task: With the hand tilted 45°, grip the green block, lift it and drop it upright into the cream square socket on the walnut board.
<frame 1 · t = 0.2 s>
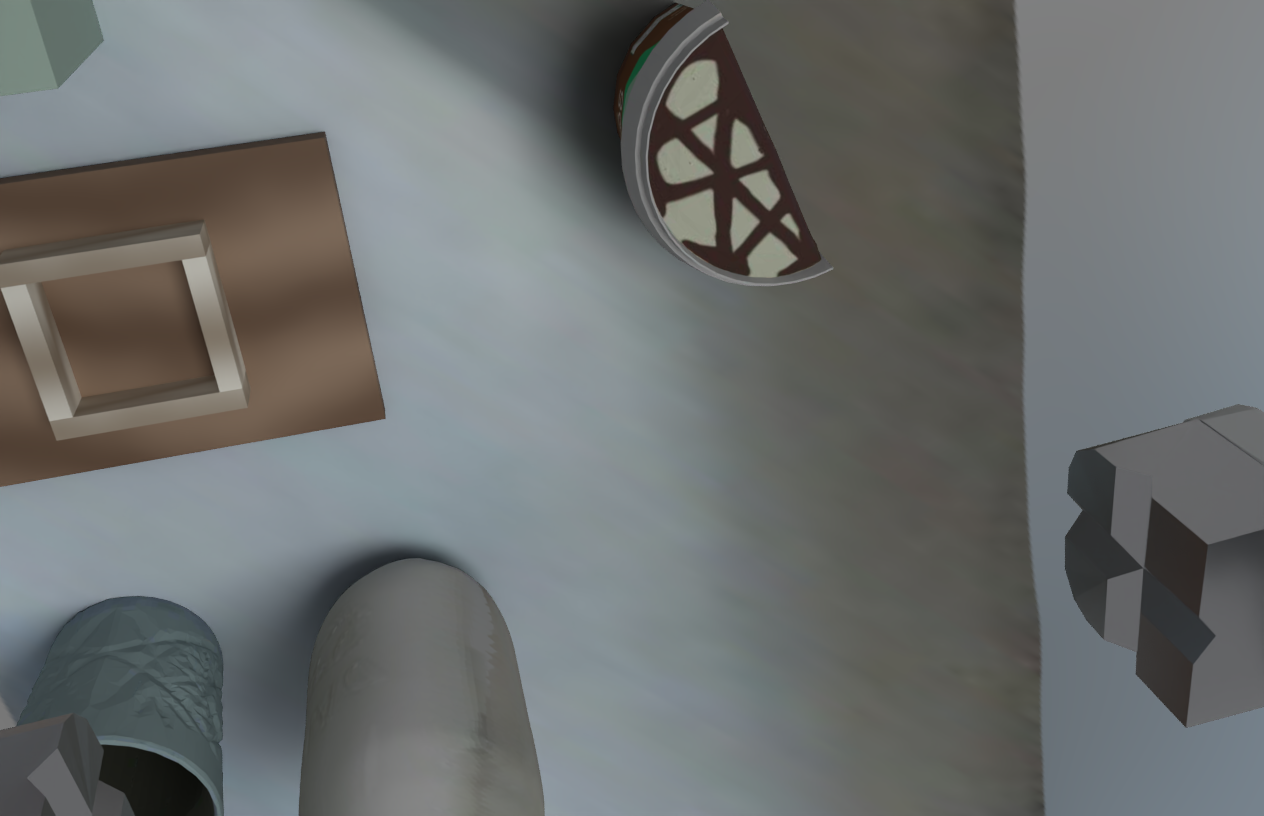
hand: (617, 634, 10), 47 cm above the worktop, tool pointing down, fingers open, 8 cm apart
green cup: (142, 656, 64), on the worktop
glass bottle: (408, 604, 66), on the worktop
food container: (657, 126, 57), on the worktop
walnut board: (136, 314, 55), on the worktop
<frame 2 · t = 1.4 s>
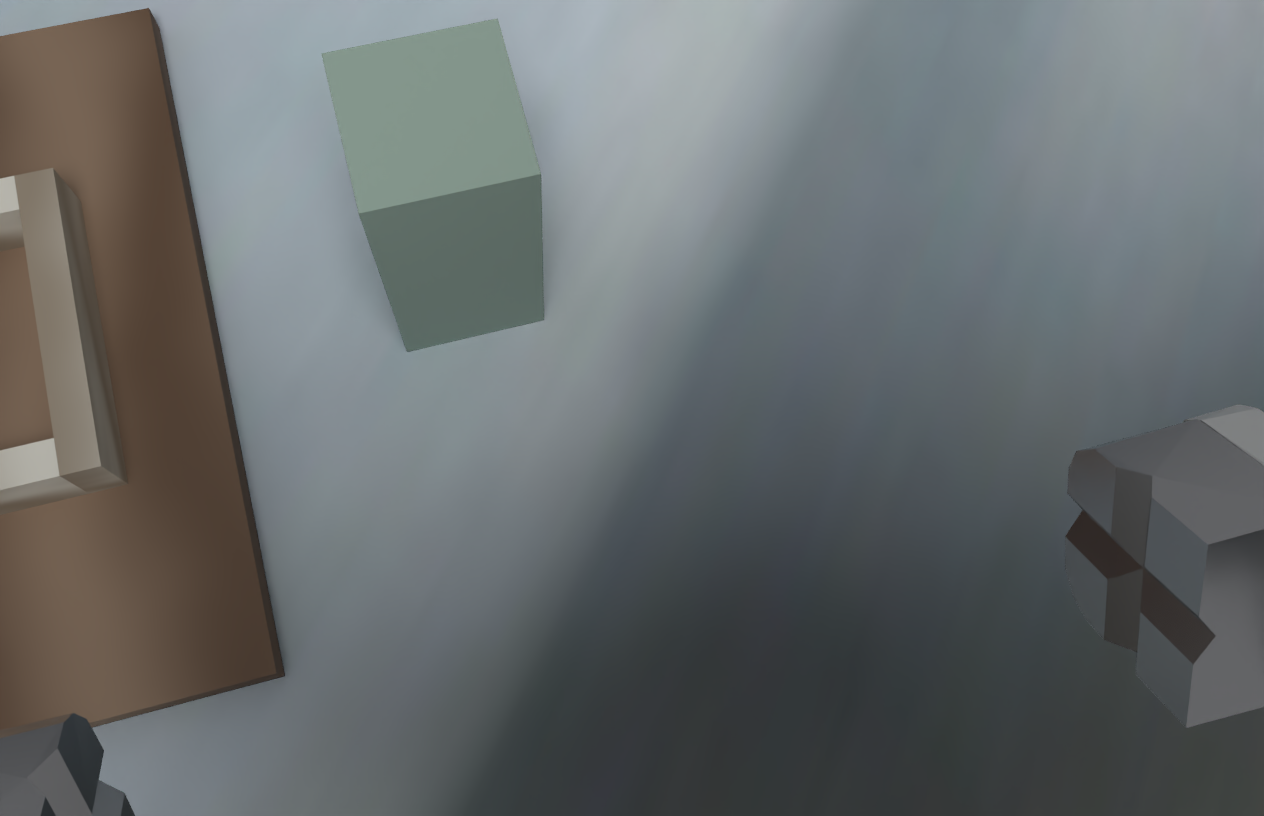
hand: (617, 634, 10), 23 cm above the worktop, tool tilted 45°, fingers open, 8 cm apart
green block: (460, 273, 35), on the worktop
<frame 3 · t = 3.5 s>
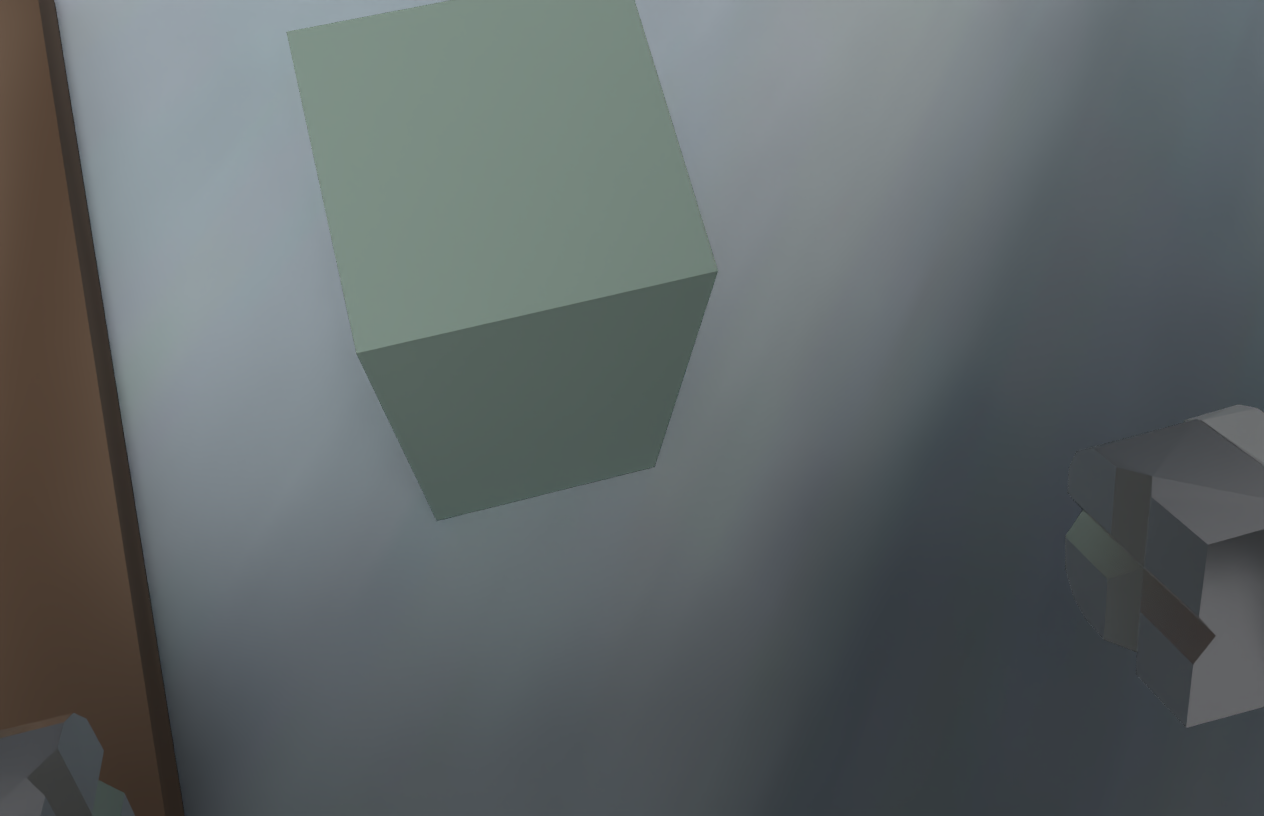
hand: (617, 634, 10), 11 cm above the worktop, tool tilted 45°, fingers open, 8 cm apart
green block: (520, 389, 22), on the worktop
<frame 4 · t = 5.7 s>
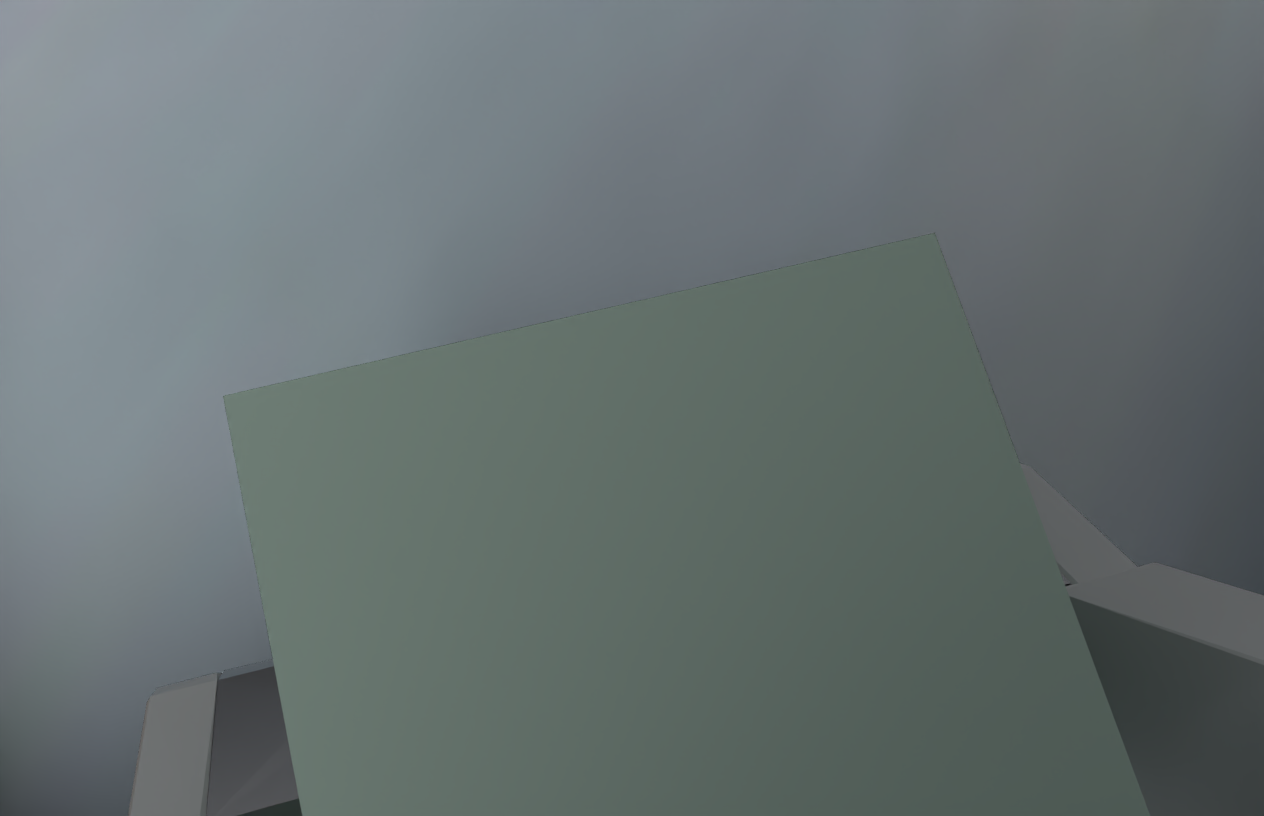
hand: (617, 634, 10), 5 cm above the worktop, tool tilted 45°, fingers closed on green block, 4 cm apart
green block: (605, 733, 15), on the worktop, touching gripper
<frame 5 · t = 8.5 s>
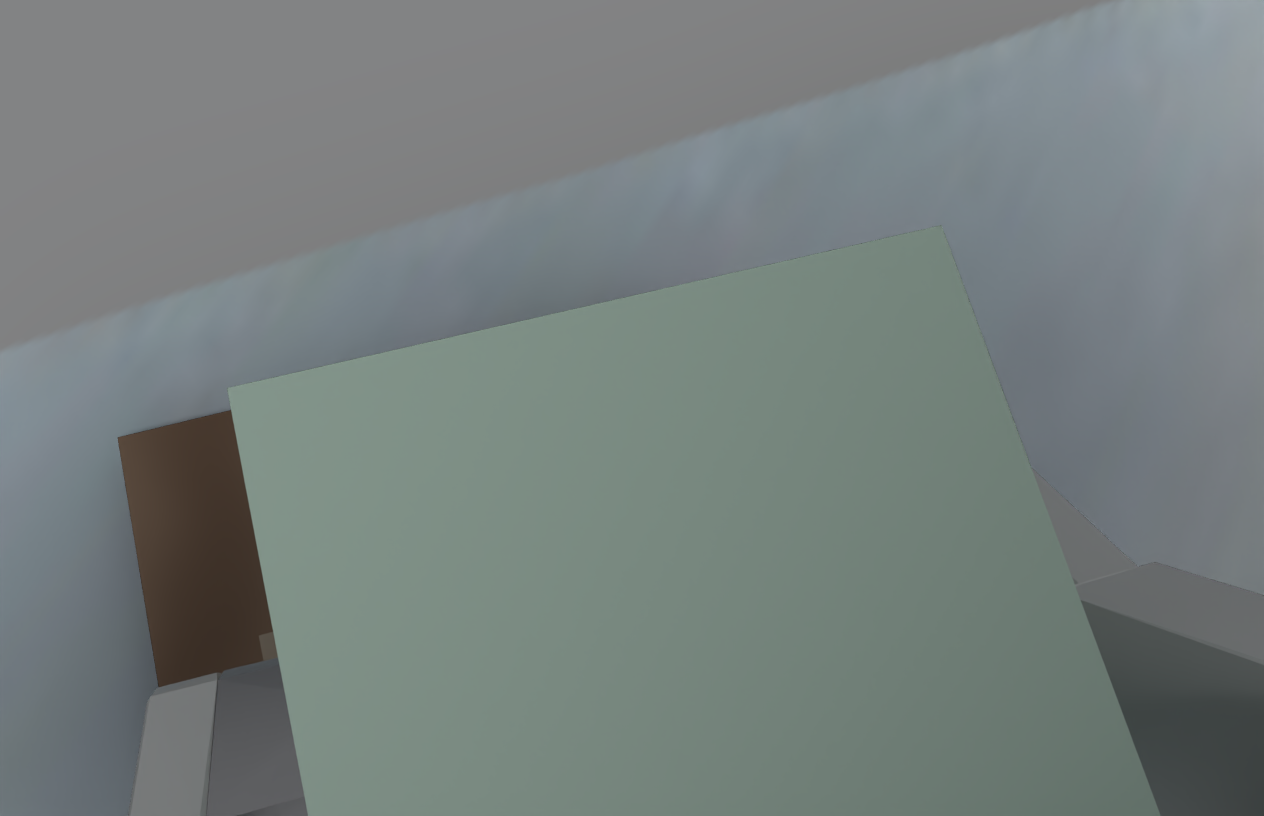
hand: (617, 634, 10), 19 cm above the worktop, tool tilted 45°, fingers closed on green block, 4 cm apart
green block: (607, 730, 15), point 14 cm above the worktop, touching gripper
walnut board: (505, 778, 28), on the worktop
when the fingers open (9 cm above the worktop, at t = 11.4 s): green block drops 2 cm, resting on walnut board.
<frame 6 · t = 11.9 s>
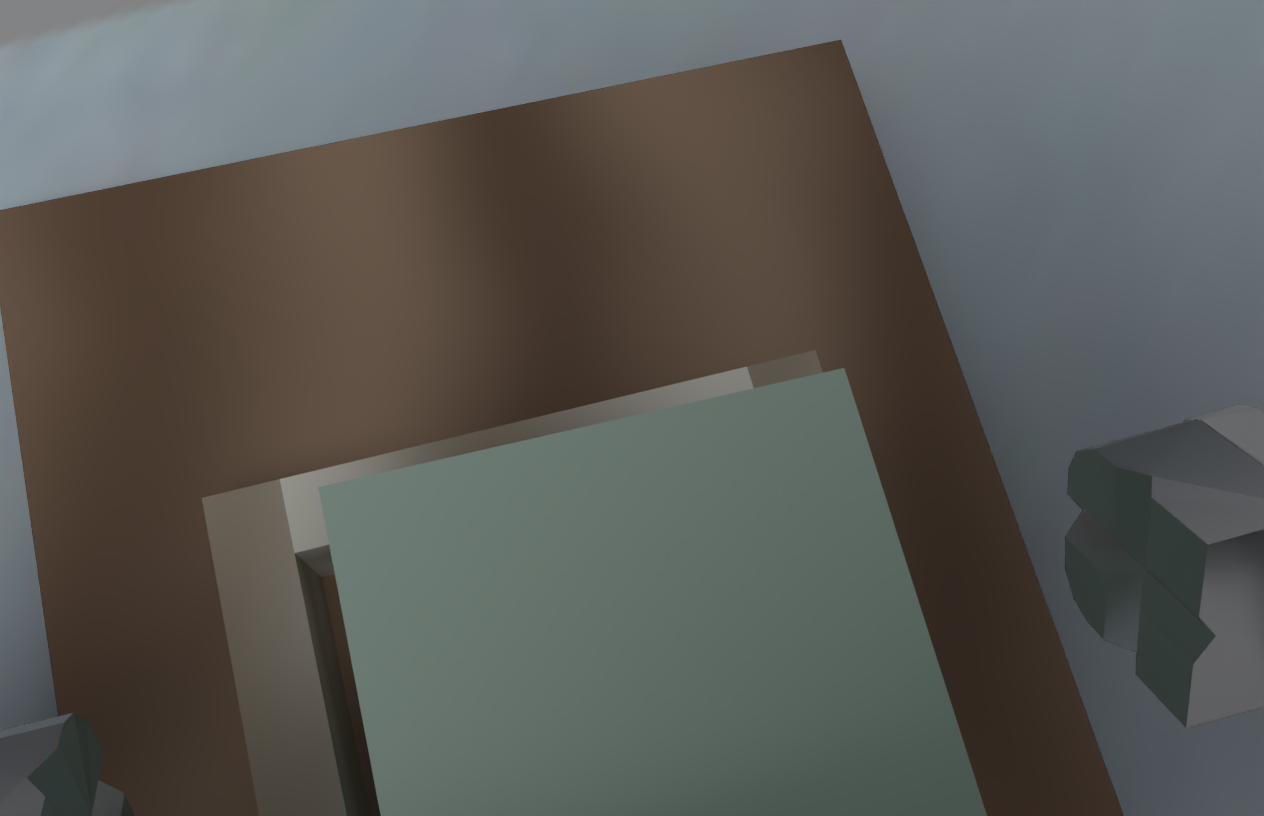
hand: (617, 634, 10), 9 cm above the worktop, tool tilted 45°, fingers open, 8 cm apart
green block: (598, 734, 17), point 1 cm above the worktop, touching walnut board
walnut board: (591, 741, 18), on the worktop
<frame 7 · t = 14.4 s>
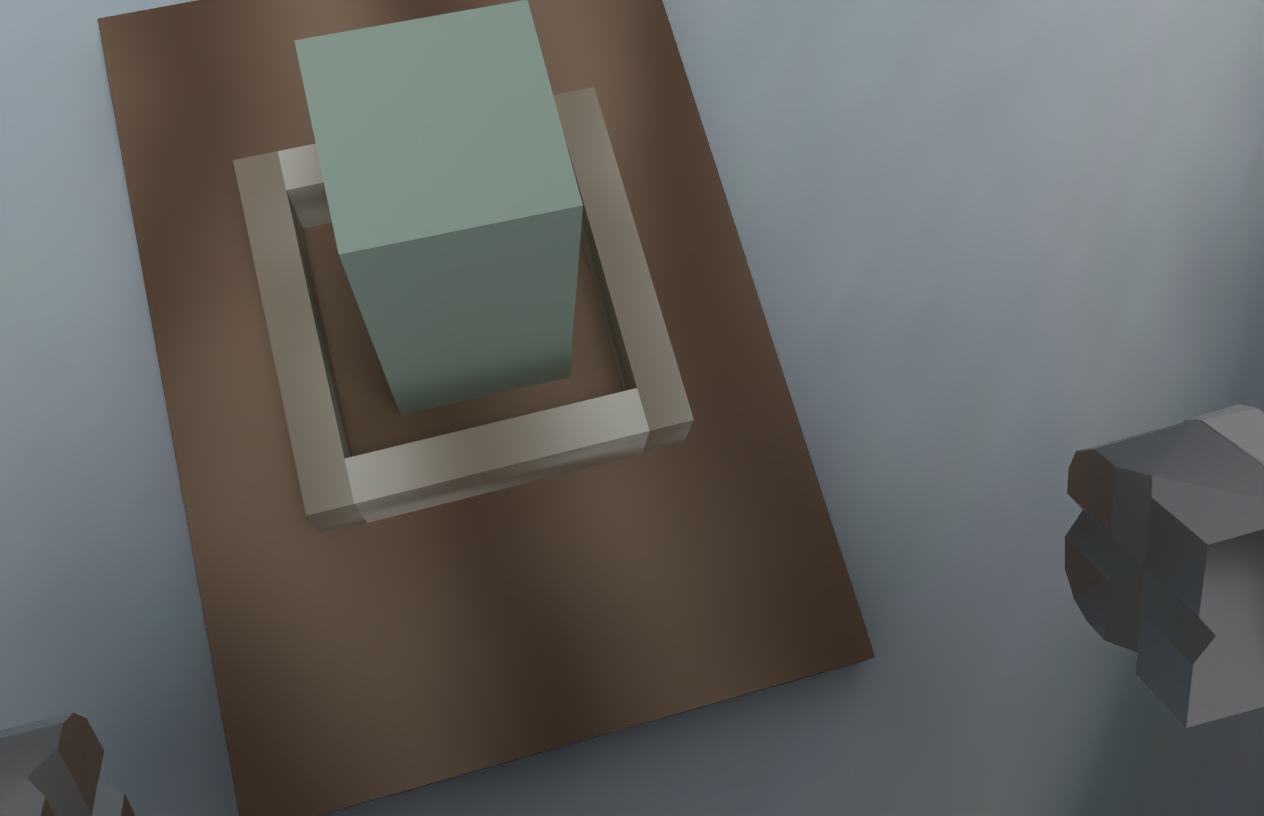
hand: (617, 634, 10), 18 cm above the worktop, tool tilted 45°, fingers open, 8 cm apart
green block: (467, 317, 29), point 1 cm above the worktop, touching walnut board
walnut board: (466, 334, 30), on the worktop
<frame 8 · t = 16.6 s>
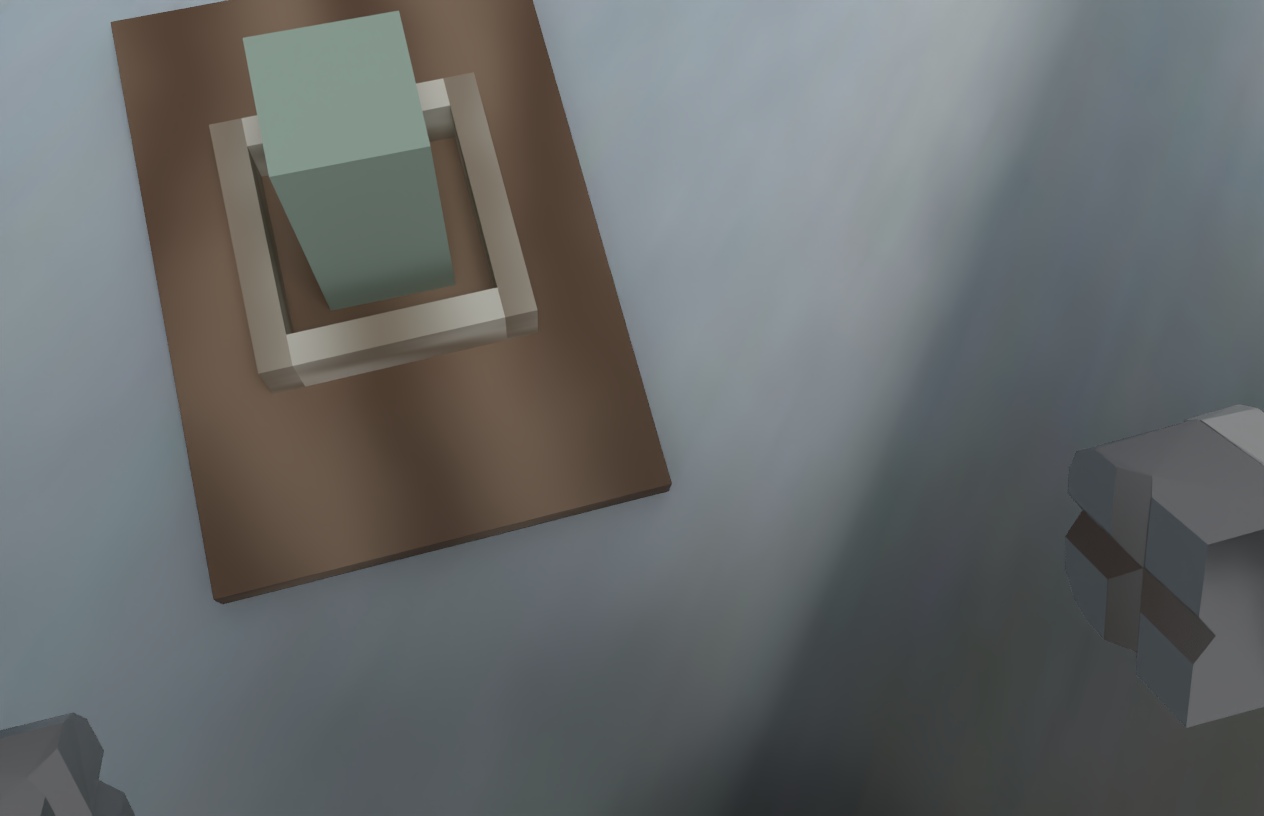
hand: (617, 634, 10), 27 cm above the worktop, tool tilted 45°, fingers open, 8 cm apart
green block: (381, 241, 39), point 1 cm above the worktop, touching walnut board
walnut board: (383, 256, 40), on the worktop
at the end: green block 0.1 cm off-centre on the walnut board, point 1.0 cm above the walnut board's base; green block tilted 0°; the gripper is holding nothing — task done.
